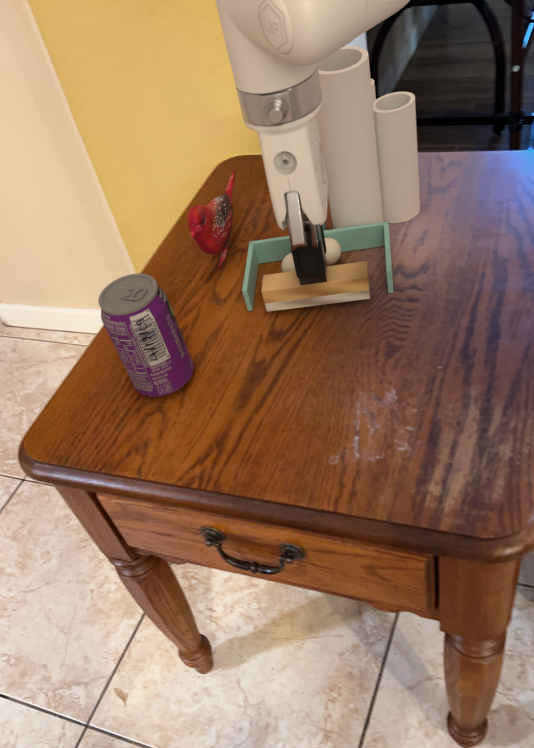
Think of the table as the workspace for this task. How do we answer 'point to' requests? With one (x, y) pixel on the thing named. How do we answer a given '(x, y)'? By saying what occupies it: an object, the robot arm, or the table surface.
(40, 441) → the table surface
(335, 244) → the crumb
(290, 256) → the crumb
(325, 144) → the vase
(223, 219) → the decorative bird figurine
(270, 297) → the brush
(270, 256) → the teal open frame
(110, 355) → the table surface
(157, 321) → the beverage can
